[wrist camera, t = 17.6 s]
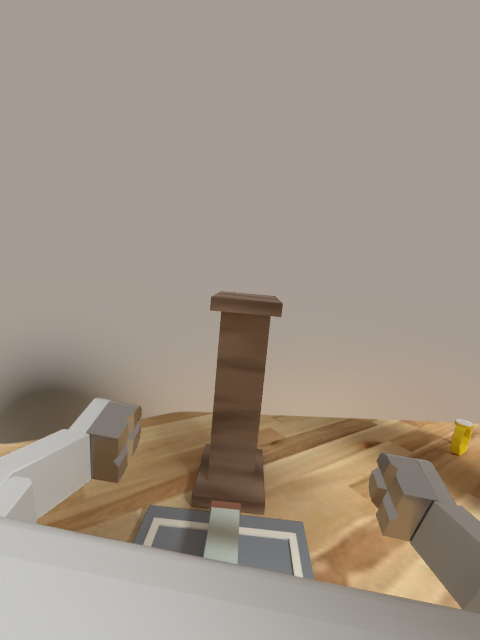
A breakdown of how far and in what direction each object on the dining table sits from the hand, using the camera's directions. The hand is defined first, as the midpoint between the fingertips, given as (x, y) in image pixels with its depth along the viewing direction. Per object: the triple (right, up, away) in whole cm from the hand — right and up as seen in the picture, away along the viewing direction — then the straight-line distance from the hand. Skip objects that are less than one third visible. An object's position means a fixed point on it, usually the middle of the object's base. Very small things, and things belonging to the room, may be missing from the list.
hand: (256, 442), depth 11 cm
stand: (-2, -18, +34) cm, 39 cm away
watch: (+40, -20, +48) cm, 66 cm away
